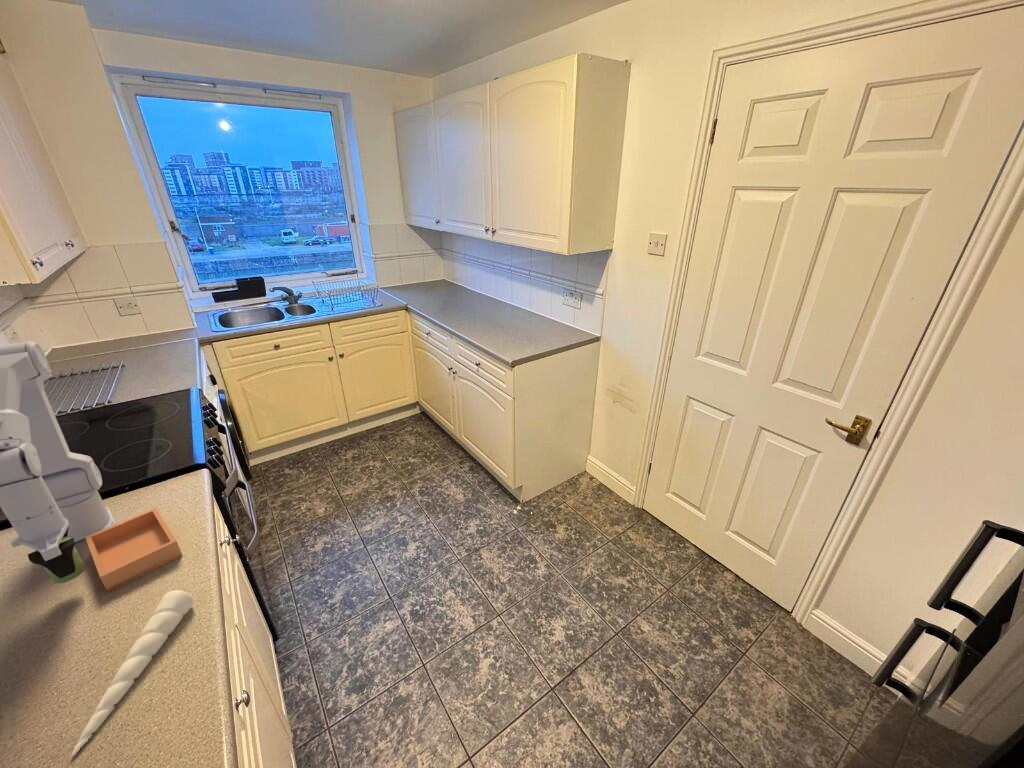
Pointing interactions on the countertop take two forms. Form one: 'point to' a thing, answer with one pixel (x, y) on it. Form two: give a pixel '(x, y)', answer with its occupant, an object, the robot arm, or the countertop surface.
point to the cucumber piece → (78, 567)
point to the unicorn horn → (139, 656)
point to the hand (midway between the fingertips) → (65, 567)
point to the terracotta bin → (132, 548)
